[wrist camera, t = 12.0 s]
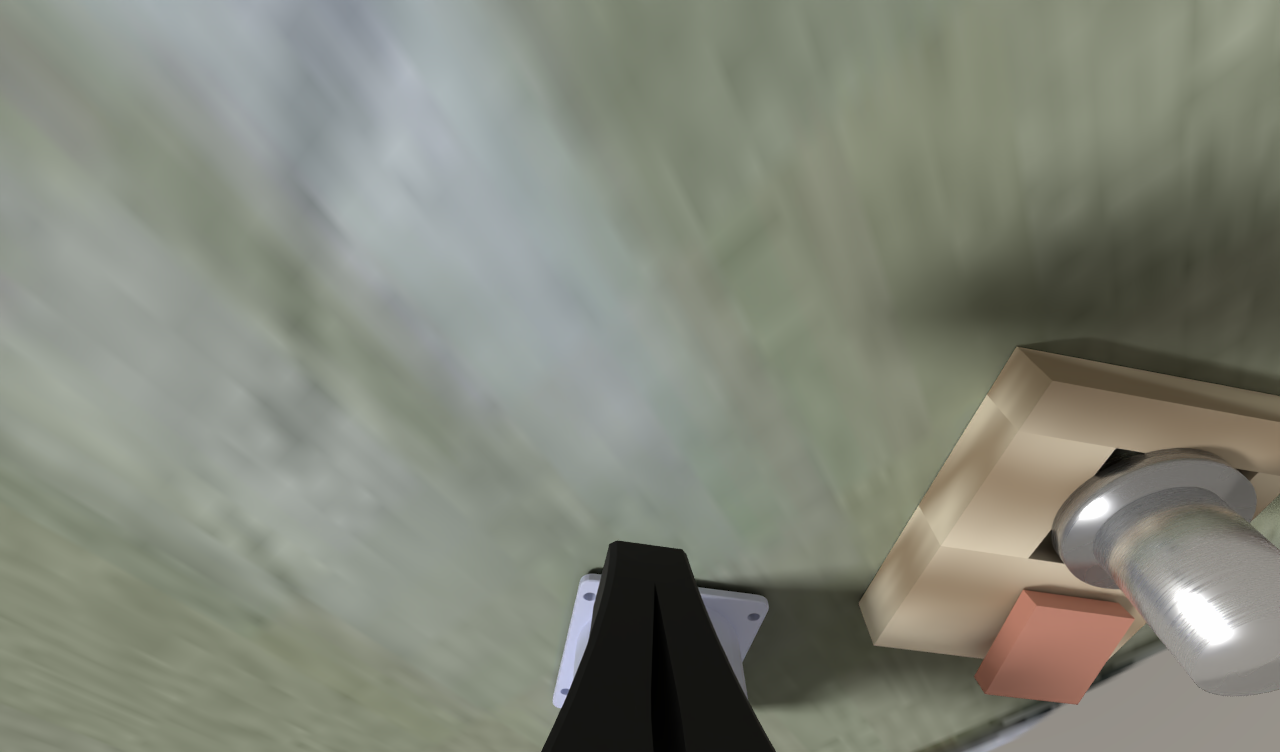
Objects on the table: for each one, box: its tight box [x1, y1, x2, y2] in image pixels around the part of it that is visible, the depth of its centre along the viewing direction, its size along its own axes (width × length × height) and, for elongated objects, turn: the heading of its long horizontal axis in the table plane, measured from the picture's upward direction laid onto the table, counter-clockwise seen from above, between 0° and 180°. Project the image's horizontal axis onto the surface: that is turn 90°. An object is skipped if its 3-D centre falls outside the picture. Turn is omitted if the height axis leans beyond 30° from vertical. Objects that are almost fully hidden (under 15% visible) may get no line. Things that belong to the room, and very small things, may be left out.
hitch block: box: [858, 347, 1280, 659], centre depth 23 cm, size 13×10×2 cm
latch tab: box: [974, 590, 1135, 705], centre depth 24 cm, size 4×4×1 cm
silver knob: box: [1051, 448, 1280, 696], centre depth 20 cm, size 6×6×7 cm
